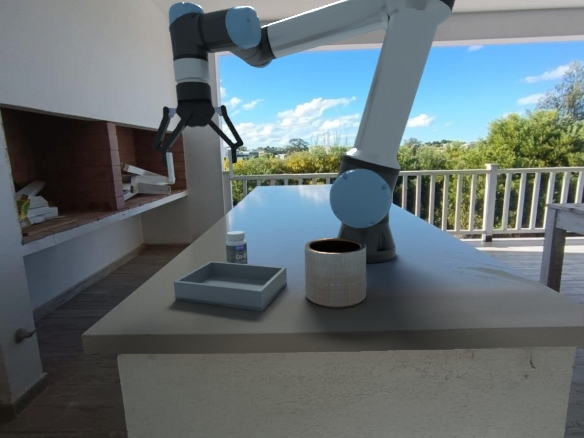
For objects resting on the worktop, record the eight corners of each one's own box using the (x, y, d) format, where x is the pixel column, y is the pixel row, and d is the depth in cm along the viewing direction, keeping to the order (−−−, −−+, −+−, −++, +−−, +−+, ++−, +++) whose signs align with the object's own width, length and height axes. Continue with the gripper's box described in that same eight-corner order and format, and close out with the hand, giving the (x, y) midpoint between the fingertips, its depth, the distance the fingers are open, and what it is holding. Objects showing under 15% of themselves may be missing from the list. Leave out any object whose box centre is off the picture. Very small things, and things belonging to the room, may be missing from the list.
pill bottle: (238, 272, 75) (236, 235, 73) (223, 269, 77) (220, 233, 76) (252, 266, 79) (250, 231, 77) (236, 263, 81) (234, 229, 80)
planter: (363, 312, 54) (364, 255, 52) (298, 306, 57) (297, 252, 55) (367, 287, 64) (368, 238, 62) (312, 282, 67) (311, 236, 65)
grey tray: (286, 284, 67) (286, 267, 66) (262, 311, 55) (261, 291, 55) (211, 276, 72) (210, 261, 72) (175, 299, 61) (173, 281, 60)
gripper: (249, 86, 80) (255, 175, 84) (139, 88, 76) (150, 181, 80) (249, 78, 73) (256, 177, 76) (128, 80, 69) (141, 183, 73)
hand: (202, 179), depth 78 cm, fingers open, 13 cm apart
